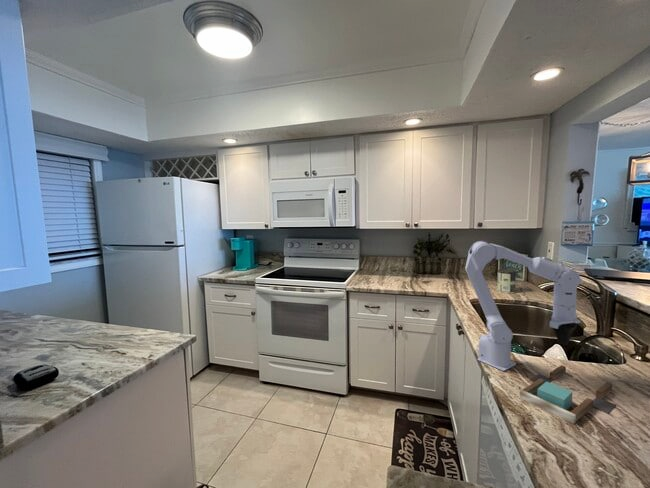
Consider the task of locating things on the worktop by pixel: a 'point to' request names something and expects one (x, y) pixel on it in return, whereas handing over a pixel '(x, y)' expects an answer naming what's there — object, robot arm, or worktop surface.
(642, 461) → the worktop surface
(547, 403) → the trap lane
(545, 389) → the teal block
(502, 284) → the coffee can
